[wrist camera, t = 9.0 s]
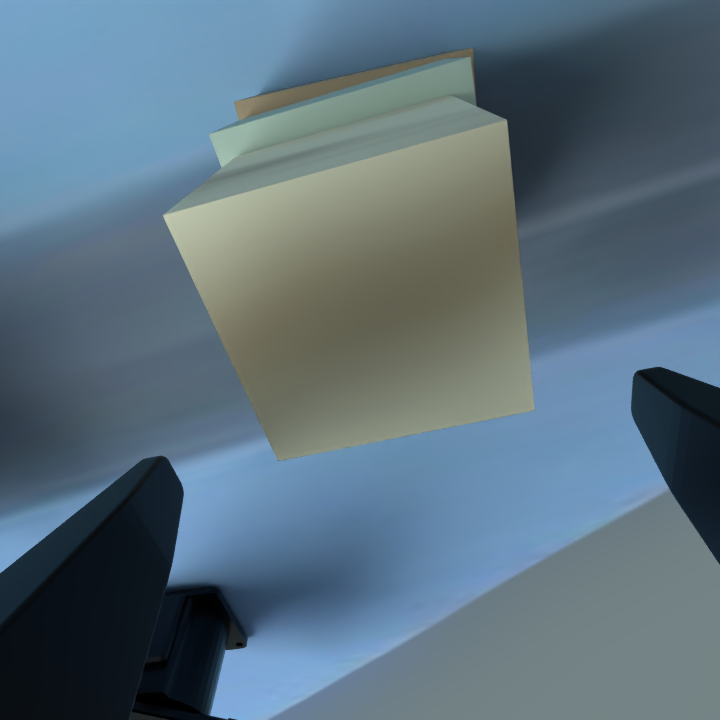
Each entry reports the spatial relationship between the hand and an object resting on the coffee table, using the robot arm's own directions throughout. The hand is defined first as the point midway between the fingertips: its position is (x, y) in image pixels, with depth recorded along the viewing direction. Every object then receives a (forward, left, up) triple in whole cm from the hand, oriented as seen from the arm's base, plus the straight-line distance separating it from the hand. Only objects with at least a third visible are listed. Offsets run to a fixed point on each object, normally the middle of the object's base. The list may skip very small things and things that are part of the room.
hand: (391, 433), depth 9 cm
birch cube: (+2, 0, -5) cm, 6 cm away
